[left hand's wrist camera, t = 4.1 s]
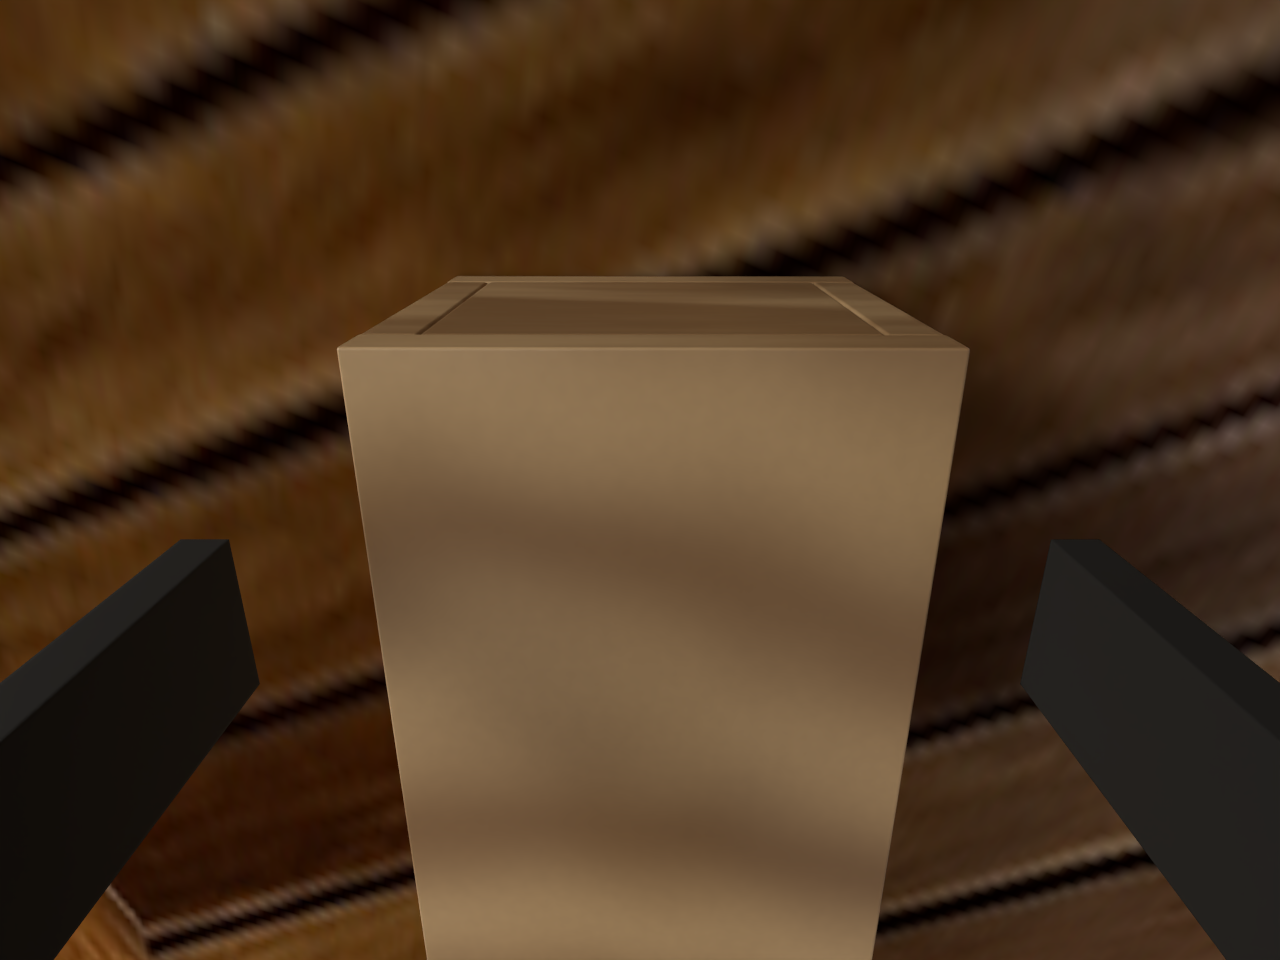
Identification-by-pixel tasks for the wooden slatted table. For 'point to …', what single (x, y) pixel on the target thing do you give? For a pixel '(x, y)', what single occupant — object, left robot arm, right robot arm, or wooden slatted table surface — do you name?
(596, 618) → the cabinet
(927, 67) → the wooden slatted table surface
